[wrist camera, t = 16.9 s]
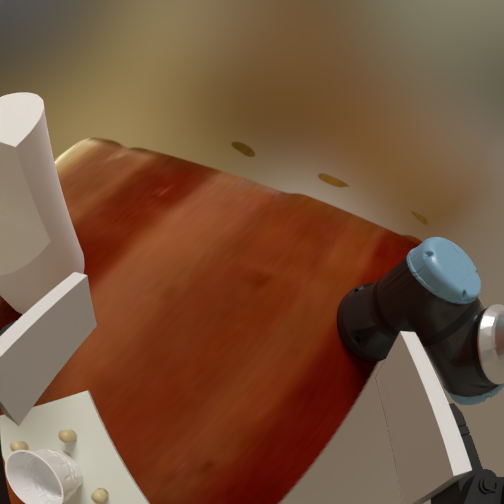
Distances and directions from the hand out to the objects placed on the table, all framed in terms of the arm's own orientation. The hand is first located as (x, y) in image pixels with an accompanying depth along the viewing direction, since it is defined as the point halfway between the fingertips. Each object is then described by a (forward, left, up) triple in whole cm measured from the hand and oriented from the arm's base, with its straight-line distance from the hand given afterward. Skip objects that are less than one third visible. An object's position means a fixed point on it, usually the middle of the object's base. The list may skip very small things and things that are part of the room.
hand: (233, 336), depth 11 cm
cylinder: (+30, -11, -31) cm, 45 cm away
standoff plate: (+15, +18, -31) cm, 39 cm away
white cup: (+15, +18, -30) cm, 38 cm away
